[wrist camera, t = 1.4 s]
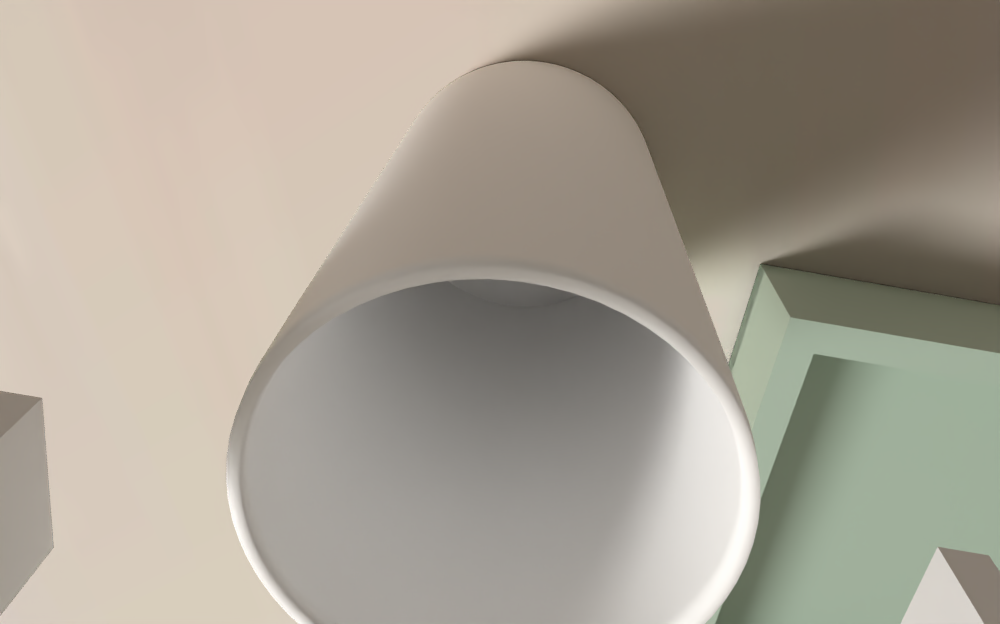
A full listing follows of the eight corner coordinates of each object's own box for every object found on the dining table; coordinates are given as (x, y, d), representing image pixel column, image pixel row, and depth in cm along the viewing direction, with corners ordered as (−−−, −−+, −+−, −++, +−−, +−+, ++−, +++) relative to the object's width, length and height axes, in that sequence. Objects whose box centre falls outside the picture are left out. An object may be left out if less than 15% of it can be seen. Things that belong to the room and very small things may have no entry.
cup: (603, 17, 25) (668, 174, 11) (686, 261, 28) (821, 637, 14) (352, 119, 27) (119, 372, 13) (456, 339, 30) (365, 745, 16)
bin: (760, 263, 28) (790, 317, 25) (1296, 356, 28) (1403, 422, 25) (634, 658, 36) (643, 742, 32) (1056, 728, 36) (1112, 819, 33)
